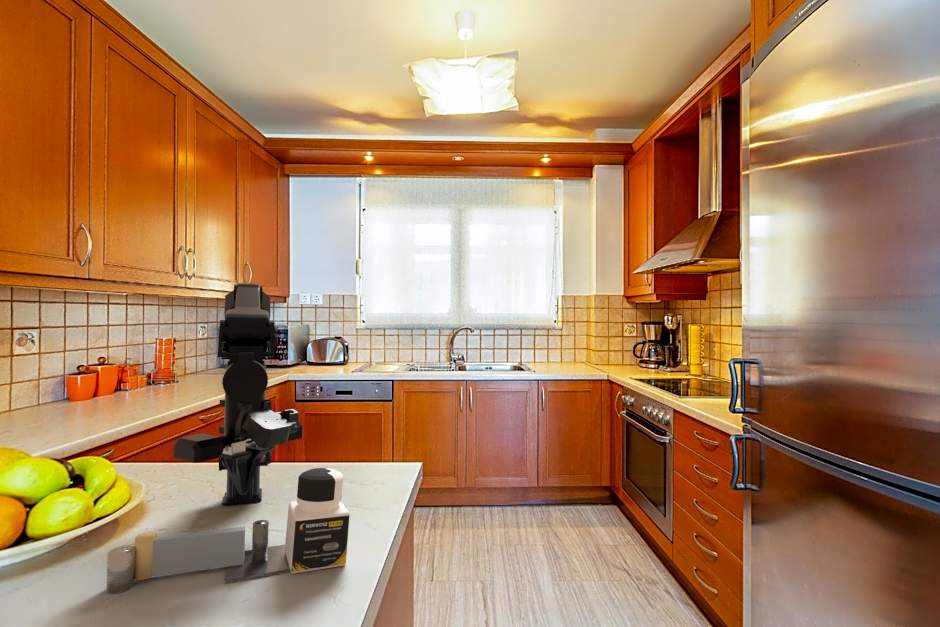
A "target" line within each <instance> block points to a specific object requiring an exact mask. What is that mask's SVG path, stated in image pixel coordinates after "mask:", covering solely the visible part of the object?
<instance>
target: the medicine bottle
mask: <svg viewBox="0 0 940 627" xmlns="http://www.w3.org/2000/svg"><path fill="white" fill-rule="evenodd" d="M297 479H298V480H297V489H296V490H297V493H296V500H292V501H290V502H288V510H287V520H286V530H285V531H286V532H285V533H286V534H285V544H284V545H285V553H286V557H287V560H288V563H289V567H290V570H291V572H290V573H291V574H298V573H304V572H312V571H317V570H324V569H333V568H338V567H343V566H345V565H346V564H347V556H348V543H349V542H348V540H349V526H350V512H349V510H348V509H347V508H346V506H345V505H344V503H343V501H342V500H343V499H342V498H343V484H344V475H343V473H342V472H340V471H338V470H336V469H333V468H328V467H317V468H310V469H308V470H305V471H303V472H301V473H300V474H299V476H298V478H297Z"/></svg>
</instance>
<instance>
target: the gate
mask: <svg viewBox="0 0 940 627" xmlns="http://www.w3.org/2000/svg"><path fill="white" fill-rule="evenodd" d="M158 533H159V532H157V531H147V532H143V533H142V532H141V533H140V534H137V535H136V536H135V537H134V546H135V576H134V581H143V580H147V579H150V578H154V577H163V576H168V575H177V574H184V573H192V572H198V571H207V570H213V569H220V568H227V567H229V566H236V565H243V563H244V558H245V551H246V548H245V547H246V526H236V527H227V528H218V529H210V530H207V529H206V530H199V531H191V532H182V533H172V534H164V535H158Z"/></svg>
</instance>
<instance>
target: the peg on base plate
mask: <svg viewBox="0 0 940 627" xmlns="http://www.w3.org/2000/svg"><path fill="white" fill-rule="evenodd" d="M269 525H270V524H269V520H268V519H260V520H259V519H258V520H256V521H254V522H252V535H251V536H252V538H251V540H252V541H251V543H252V545H251V549H248V550H245V558H244V563H243V565H236V566H229V567H226V572H225V579H224V584H230V583H235V582H242V581H247V580H254V579H258V578H263V577H270V576H274V574H275V575H280V573H281V574H286V573H289V572H288V571H291V570H290V567H289V563H288V560H287V557H286V553H285V544H279V545H273V546H272V545H271V546H269ZM285 572H286V573H285ZM269 575H270V576H269Z"/></svg>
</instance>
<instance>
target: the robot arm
mask: <svg viewBox="0 0 940 627" xmlns="http://www.w3.org/2000/svg"><path fill="white" fill-rule="evenodd" d="M271 300H272V299H271V297H270V295H268V294H267V293H265V291H264V290H263V285H260V284H259V283H243V282H242V283H241V282H240V283H237V284H236V283H235V284H233V290H232V291H230V292H229V293H227V294H225V296H224V311H223V312H224V319H220V320H219V330H218V344H217V345H218V346H217V358H228V361H227V363H226V364H225V372H224V374H223V377H222V382H221V383H222V389H223V391H224V394H225V395H224V398H223V399H219V407H220V408H221V407H222V408H224V415H223V416H224V418H223V420H224V421H223V423H224V425H219V426H218V434H223V435H220V436H218V435H213V434H207V433H203V432H202V433H197V434H191V435H186V436H182V437H179V438H178V439H177V441H175V444H174V445H173V455H172V456H173V457H172V458H173V459H178V460H182V461H187V462H190V463H196V464H197V463H203V462H209V461H213V460H216V459H218V471H219V472H221V471H226V491H225V492H224V495H223V500H222V506H229V505H238V504H246V503H255V502H256V503H257V502H261V501H262V500H263V499H262V498H263V495H262V494H263V491H262V490H263V489H262V487H261V486H260V484H261V481H260V480H261V467H263V466H264V467H268V466H269V465H270V464H272V457H273V456H272V453H273V450H275V446H279V445H281V446H282V445H286V444H287V443H288V441H289V442H291V441H296V440H300V439H303V437H304V426H303V424H302V423H301V422H300V418H299V417H300V416H299V412H298V411H297V410H296V409H295V408H289V409H285V410H283V411H282V412H281V411H276V412H275V411H273V408H272V406H273V405H272V401H271V398H266V391H267V390H266V389H267V387H268V383H269V376H268V373H267V370H266V369H267V364H266V362H265V360H264V358H273V357H274V356H275V355H274V354H275V353H277V352H278V348H279V343H278V340H279V339H278V327H277V326H276V325H275V323H276V322H274V320H271V319H270V318H271V302H272V301H271ZM224 349H225V350H224ZM268 349H269V350H268ZM260 487H261V488H260Z"/></svg>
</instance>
